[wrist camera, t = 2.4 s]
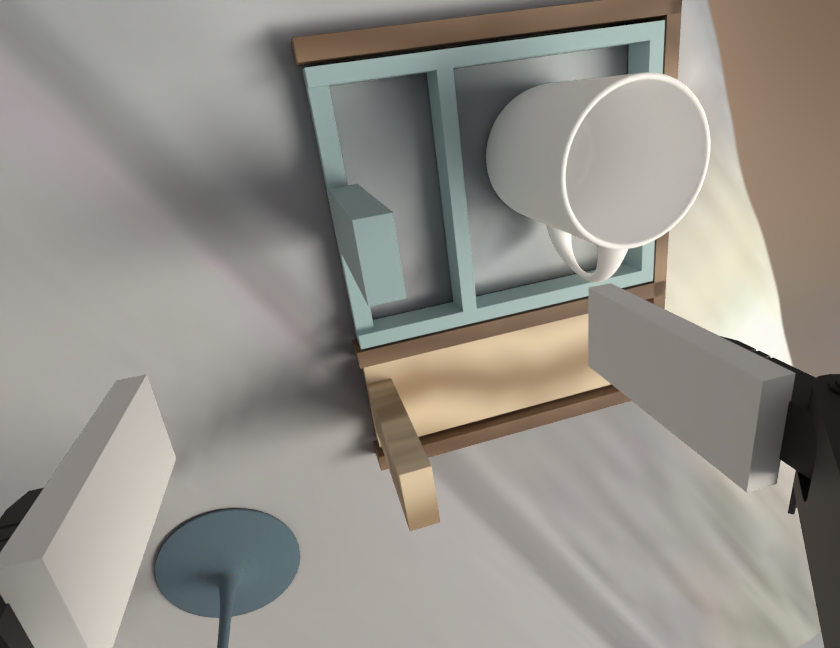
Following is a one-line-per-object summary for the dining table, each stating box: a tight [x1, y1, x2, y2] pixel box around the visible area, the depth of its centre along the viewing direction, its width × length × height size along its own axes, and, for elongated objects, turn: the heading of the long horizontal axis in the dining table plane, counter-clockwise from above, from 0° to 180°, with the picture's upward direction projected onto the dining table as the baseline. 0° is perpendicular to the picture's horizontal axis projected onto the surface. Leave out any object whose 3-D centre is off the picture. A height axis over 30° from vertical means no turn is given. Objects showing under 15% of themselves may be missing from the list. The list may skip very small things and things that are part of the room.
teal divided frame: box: [303, 20, 665, 349], centre depth 31 cm, size 17×22×12 cm
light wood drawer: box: [363, 314, 611, 531], centre depth 36 cm, size 7×22×12 cm, turn 98°
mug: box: [486, 72, 710, 282], centre depth 32 cm, size 9×12×11 cm
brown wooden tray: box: [291, 0, 682, 471], centre depth 37 cm, size 29×24×2 cm
